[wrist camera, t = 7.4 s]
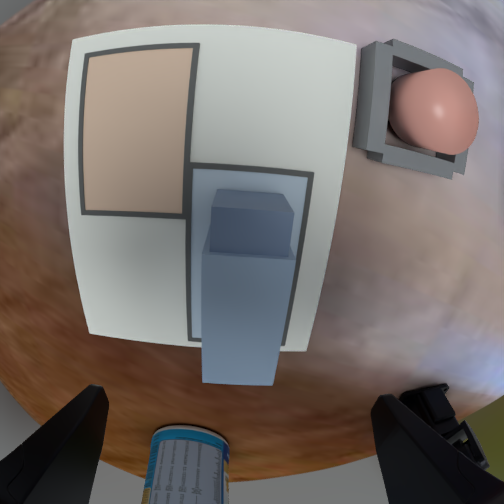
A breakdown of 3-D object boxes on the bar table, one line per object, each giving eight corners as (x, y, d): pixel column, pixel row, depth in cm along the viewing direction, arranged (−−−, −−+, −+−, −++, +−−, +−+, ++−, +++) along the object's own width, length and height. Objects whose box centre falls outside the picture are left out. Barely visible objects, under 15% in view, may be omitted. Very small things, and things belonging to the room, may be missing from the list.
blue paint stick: (267, 341, 20) (272, 385, 16) (207, 338, 19) (202, 382, 16) (287, 193, 16) (303, 215, 12) (212, 187, 15) (203, 208, 12)
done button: (442, 154, 14) (473, 163, 12) (382, 138, 14) (409, 143, 11) (448, 87, 13) (480, 86, 10) (388, 64, 12) (417, 55, 10)
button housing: (444, 175, 16) (462, 182, 14) (351, 155, 15) (364, 159, 14) (454, 76, 13) (473, 75, 11) (361, 41, 13) (376, 32, 11)
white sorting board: (304, 346, 21) (306, 353, 20) (92, 329, 20) (88, 335, 19) (353, 46, 13) (358, 43, 12) (76, 41, 12) (70, 38, 11)
